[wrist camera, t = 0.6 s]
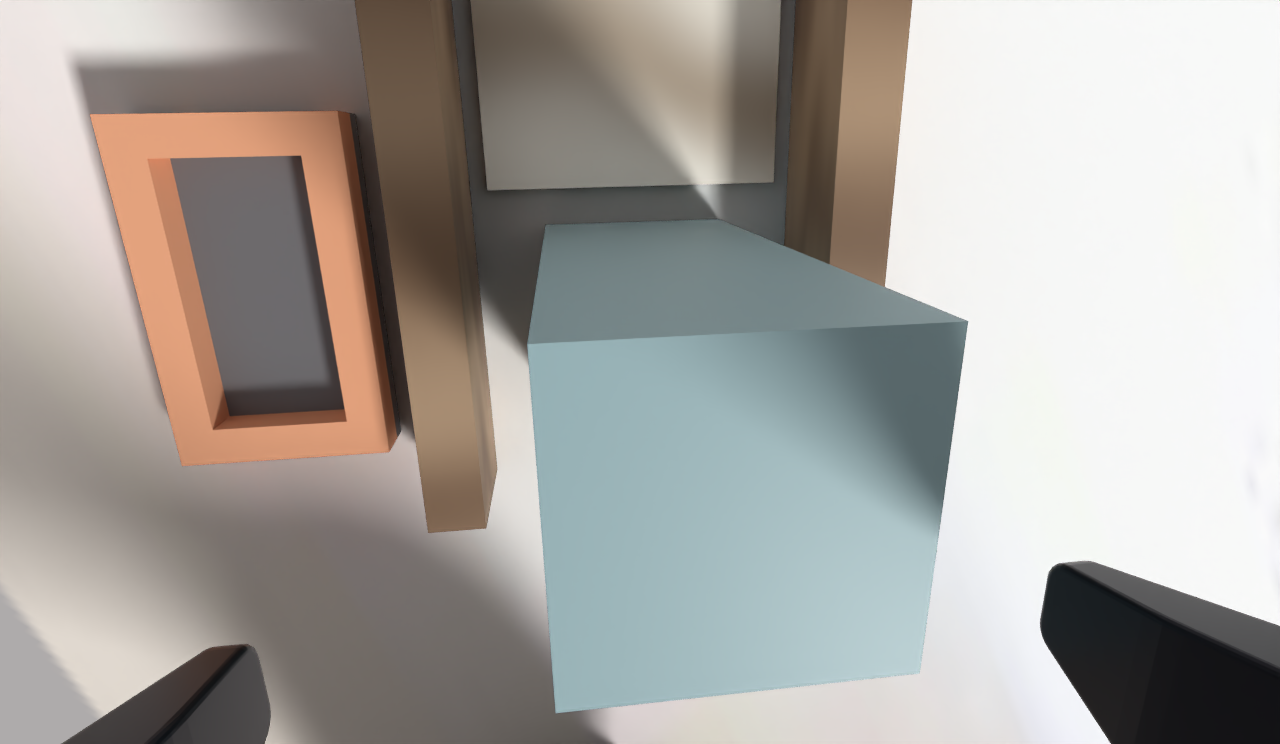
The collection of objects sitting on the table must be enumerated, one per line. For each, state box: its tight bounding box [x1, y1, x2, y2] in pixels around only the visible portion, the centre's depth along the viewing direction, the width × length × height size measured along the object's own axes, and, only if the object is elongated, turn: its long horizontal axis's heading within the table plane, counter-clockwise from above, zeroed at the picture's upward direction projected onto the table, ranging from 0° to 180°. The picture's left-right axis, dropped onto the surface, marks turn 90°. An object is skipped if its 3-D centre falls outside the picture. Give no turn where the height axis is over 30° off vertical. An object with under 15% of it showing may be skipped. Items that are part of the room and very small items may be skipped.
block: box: [527, 219, 968, 713], centre depth 14 cm, size 5×5×12 cm
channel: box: [355, 0, 912, 533], centre depth 18 cm, size 14×12×4 cm
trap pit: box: [90, 111, 401, 466], centre depth 18 cm, size 9×6×2 cm, turn 1°
